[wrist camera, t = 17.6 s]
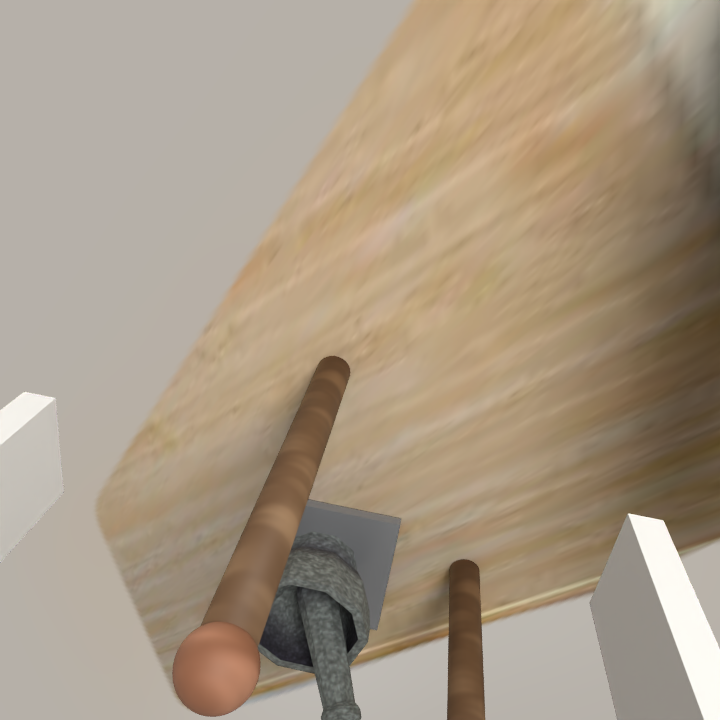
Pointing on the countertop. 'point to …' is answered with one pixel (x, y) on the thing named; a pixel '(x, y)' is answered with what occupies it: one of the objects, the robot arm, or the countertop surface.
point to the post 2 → (465, 644)
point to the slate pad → (359, 544)
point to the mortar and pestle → (320, 619)
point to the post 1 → (259, 560)
